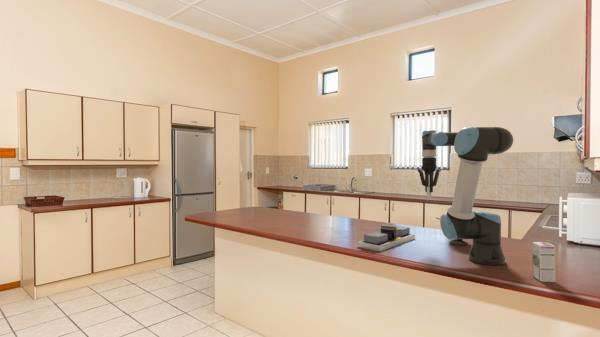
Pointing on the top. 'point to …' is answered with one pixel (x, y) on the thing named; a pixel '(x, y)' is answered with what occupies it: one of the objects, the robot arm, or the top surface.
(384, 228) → the electrical switch
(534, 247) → the syrup box
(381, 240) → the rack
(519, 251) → the top surface
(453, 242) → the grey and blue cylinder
